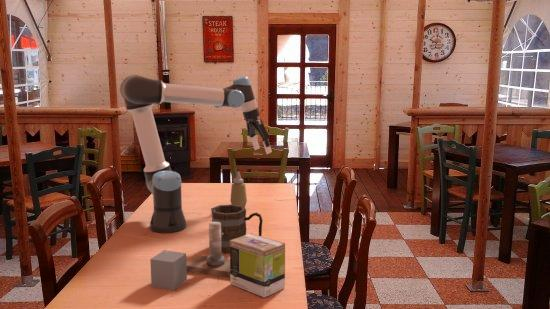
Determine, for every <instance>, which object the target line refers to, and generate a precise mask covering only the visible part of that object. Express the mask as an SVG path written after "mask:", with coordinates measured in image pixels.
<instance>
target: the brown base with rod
mask: <svg viewBox="0 0 550 309" xmlns="http://www.w3.org/2000/svg"><path fill="white" fill-rule="evenodd" d="M208 242H209V244H208V245H209V246H208V248H209V249H208V250H209V255H203V254H195V255H193V256H192V257H191V258H189V259H188V260H186V266H187V271H188V272H187V273H189V272H190V273H194V272H195V273H196V274H201V273H202V274H203V275H208V274H209V276H216V277H222V278H228V279H230V258H225V256H224V255H222V253H221V223H220V222H212V221H211V222H208ZM195 273H194V274H195Z"/></svg>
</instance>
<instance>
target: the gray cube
mask: <svg viewBox="0 0 550 309" xmlns="http://www.w3.org/2000/svg"><path fill="white" fill-rule="evenodd" d="M149 261H150V280H151V281H150V282H151V287H152V288H156V289H157V288H158V289H163V290H170V291H176V290H177V289H178V288H180V286H181V285H183V284H184V283H185V282H186V281H188V277H187V276H188V274H187V273H188V272H187V266H186V262H187V253H186V252H180V251H172V250H162V251H160V252H159V253H157V254H156V255H155V256H154V255H153V257H151V258H150V260H149Z"/></svg>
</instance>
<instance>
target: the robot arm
mask: <svg viewBox="0 0 550 309" xmlns="http://www.w3.org/2000/svg"><path fill="white" fill-rule="evenodd" d="M119 91H120V92H119V93H120V95H121V97H122V98H123V102H124V105H125V108H126V111H128V112H129V113H130V114H131V116H132V117H131V118H132V120H133V123H134V128H135V131H136V135H137V138H138V141H139V146H140V150H141V153H142V156H143V160H144V164H145V167H144V168H143V174H144V177H145V185H146V189H147V190H148V191H149V192H150V193H151V194H152V199H153V200H152V201H153V212H152V216H151V220H150V224H149V228H150V230H151V231H152V232H155V233H163V234H164V233H165V234H166V233H176V232H180V231H182V230H185V229H186V228H187V219H186V216H185V214H184V211H183V207H182V206H183V205H182V202H183V201H182V177H181V175H180V173H178V172H176V171H173V170H172V168H171V165H170V163H169V161H166V158H165V155H164V151H163V147H162V143H161V140H160V136H159V133H158V132H159V131H158V128H157V124H156V121H155V116H154V112H153V106H154V105H161V104H162V103H172V104H173V103H175V104H185V105H187V104H188V105H203V106H214V108H216V109H219V108H223V107H226V108H227V107H228V108H233V109H236V108H240V109H241V111H242V115H243V118H244V121H245V123H246V132H247V136H248V137H249V138H250V140H251V143H252V148H253V150H254V151H257V150H260V149H261V148H260V144H259V141H258V137H257V134H256V132H257V133H258V135H259V136H260V137H261V142H262V145H263V148H264V150H265V154H266V155H269V154H271V153H272V152H273V150H272V147H271V144H270V141H269V139H271V137H270V134H269V133H268V131H267V129H266V127H265V125H264V122H263V120H262V119H261V118H260V119H259V118H258V117H259V116H260V115H261V114H260V110H259V107H258V104H257V100H256V97H255V94H254V90H253V88H252V84H251V82H250V79H249V76H246V75H243V76H240V77H237V78H234V79H233V80H232V84H231V85H229V86H227V87H226V86H225V87H223V88H220V87H208V86H197V85H188V84H187V85H185V84H177V83H176V84H175V83H166V82H163V80H161V79H160V80H157V79H154V78H148V77H145V76H141V75H138V74H135V75H130V76H127V77H125V78H124V79H123V80H122V81H121V83H120V88H119Z"/></svg>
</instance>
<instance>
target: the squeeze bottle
mask: <svg viewBox="0 0 550 309" xmlns="http://www.w3.org/2000/svg"><path fill="white" fill-rule="evenodd" d="M246 188H247V187H246V184H245V183H244V179H243V178H242V176H241V173H240V171H237V172H236V176H235V178H233V183H232V184H231V189H230V190H231V191H230V205H231V204H233V205H239V206H244V207H245V208H246V206H247V204H248V203H247V202H248V199H247V198H248V197H247V189H246Z"/></svg>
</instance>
